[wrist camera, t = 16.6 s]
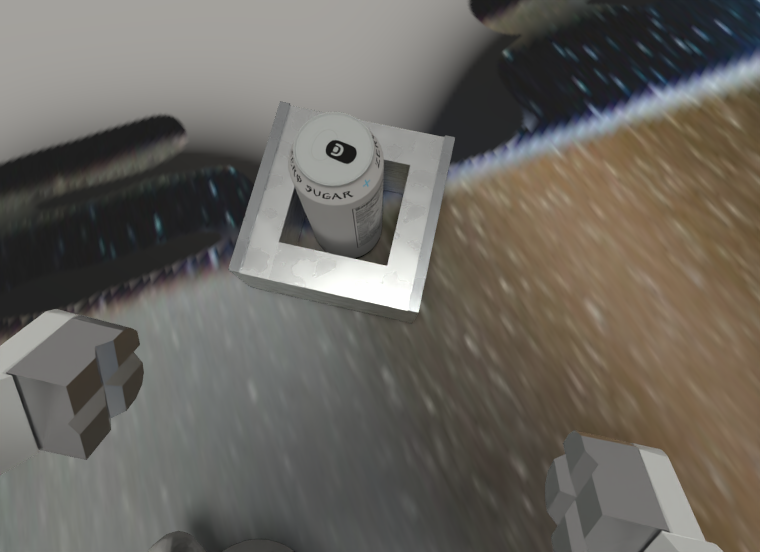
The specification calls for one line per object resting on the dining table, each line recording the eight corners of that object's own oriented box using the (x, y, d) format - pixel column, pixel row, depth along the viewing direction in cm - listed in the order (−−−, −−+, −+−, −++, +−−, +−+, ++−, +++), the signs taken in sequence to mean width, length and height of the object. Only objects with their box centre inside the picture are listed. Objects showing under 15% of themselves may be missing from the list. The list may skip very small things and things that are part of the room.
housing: (444, 172, 44) (455, 137, 38) (412, 323, 41) (418, 312, 34) (293, 140, 44) (280, 101, 38) (250, 286, 41) (228, 269, 35)
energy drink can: (332, 188, 43) (310, 88, 29) (392, 213, 43) (400, 125, 28) (304, 245, 42) (265, 171, 28) (365, 272, 42) (358, 211, 27)
